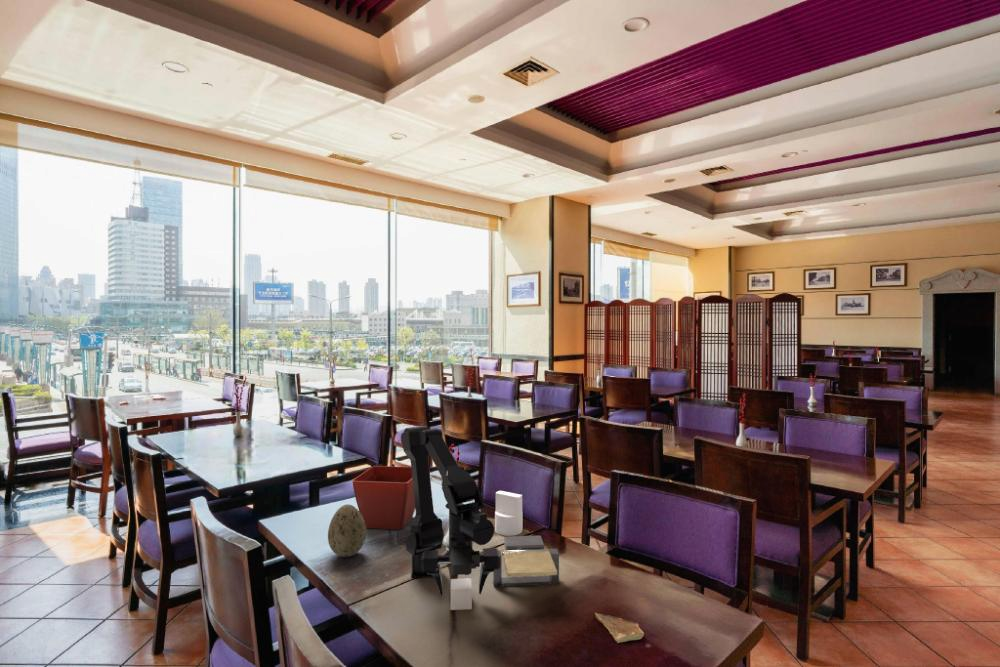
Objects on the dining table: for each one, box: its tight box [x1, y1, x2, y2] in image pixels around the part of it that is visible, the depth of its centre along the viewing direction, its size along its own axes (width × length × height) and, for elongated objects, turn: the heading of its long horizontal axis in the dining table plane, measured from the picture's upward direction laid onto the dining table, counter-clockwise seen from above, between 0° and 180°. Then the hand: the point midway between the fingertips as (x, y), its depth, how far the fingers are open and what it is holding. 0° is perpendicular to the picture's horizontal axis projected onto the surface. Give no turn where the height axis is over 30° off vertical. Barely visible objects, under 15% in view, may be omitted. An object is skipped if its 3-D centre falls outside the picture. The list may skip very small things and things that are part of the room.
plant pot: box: [351, 465, 416, 531], centre depth 177 cm, size 19×19×17 cm
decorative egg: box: [327, 503, 367, 558], centre depth 152 cm, size 11×11×15 cm
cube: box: [450, 577, 473, 611], centre depth 126 cm, size 5×5×5 cm
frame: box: [492, 548, 560, 588], centre depth 136 cm, size 17×3×8 cm, turn 95°
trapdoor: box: [501, 535, 557, 577], centre depth 133 cm, size 12×19×3 cm, turn 5°
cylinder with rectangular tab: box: [494, 490, 523, 537], centre depth 171 cm, size 9×9×12 cm
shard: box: [594, 611, 645, 644], centre depth 116 cm, size 11×8×2 cm
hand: (460, 594), depth 126 cm, fingers open, 9 cm apart
